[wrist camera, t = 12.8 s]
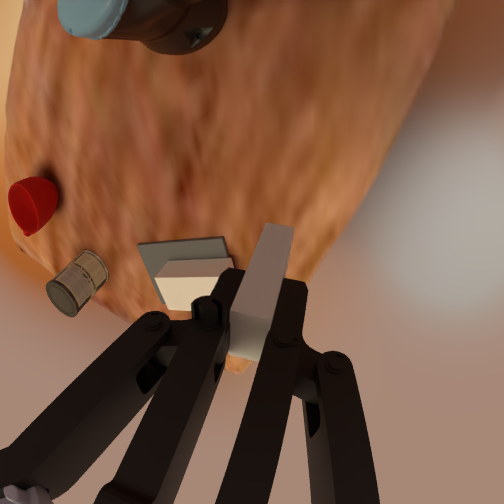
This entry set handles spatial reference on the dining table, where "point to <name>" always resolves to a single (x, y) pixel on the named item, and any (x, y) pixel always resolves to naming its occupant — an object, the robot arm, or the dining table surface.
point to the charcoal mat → (179, 253)
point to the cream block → (189, 280)
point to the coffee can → (77, 283)
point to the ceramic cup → (32, 203)
